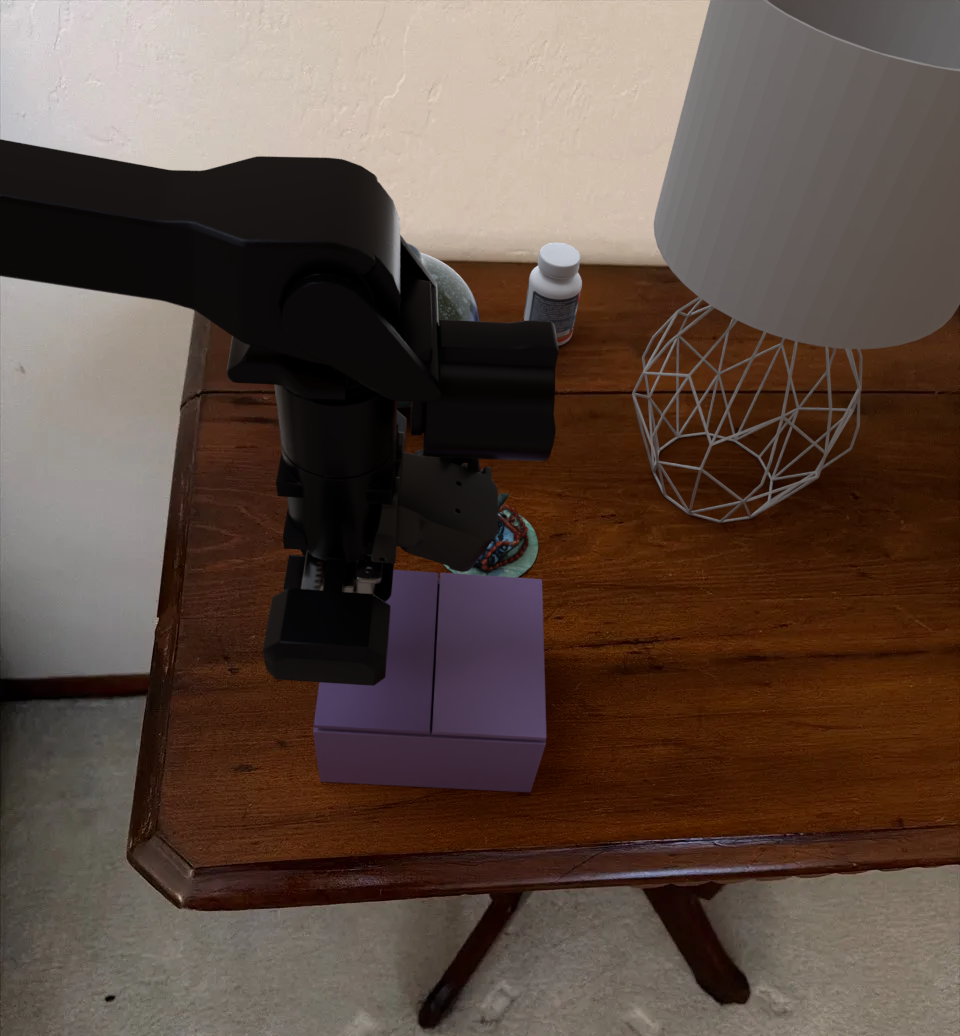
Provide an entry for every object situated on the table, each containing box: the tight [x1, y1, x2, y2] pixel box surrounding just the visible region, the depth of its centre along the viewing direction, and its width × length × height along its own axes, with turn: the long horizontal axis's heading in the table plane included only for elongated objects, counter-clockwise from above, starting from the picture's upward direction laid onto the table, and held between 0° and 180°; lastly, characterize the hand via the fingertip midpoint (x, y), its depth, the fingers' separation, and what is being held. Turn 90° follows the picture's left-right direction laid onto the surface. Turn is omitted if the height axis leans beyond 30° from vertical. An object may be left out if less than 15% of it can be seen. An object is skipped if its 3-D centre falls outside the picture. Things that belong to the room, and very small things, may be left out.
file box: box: [312, 572, 547, 793], centre depth 65 cm, size 15×13×8 cm
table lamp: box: [631, 0, 960, 524], centre depth 68 cm, size 22×22×40 cm
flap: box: [313, 569, 439, 734], centre depth 62 cm, size 7×13×1 cm, turn 179°
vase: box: [397, 242, 481, 409], centre depth 83 cm, size 15×15×13 cm
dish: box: [443, 492, 539, 578], centre depth 78 cm, size 8×7×8 cm
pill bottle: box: [523, 242, 583, 347], centre depth 91 cm, size 5×5×9 cm
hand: (345, 617), depth 58 cm, fingers closed
